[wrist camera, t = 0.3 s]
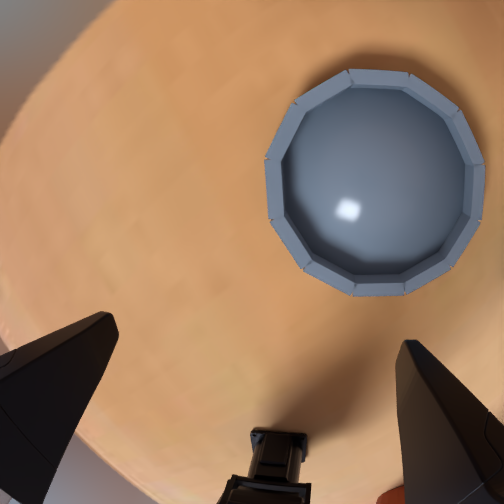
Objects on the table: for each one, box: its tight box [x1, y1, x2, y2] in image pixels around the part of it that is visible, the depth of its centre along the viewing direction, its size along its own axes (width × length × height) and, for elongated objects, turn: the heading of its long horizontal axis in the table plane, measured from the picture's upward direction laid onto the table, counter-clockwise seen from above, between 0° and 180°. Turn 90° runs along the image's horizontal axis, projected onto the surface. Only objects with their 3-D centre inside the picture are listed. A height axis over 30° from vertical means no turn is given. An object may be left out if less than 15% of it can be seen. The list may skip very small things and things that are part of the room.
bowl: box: [264, 69, 485, 296], centre depth 19 cm, size 15×15×2 cm
